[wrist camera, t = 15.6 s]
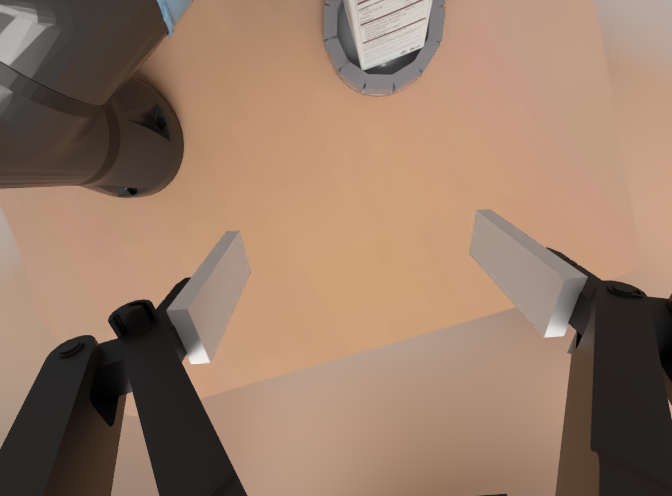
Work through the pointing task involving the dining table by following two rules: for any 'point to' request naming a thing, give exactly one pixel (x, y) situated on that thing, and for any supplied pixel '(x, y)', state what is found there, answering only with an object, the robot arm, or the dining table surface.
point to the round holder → (387, 74)
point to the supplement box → (387, 28)
